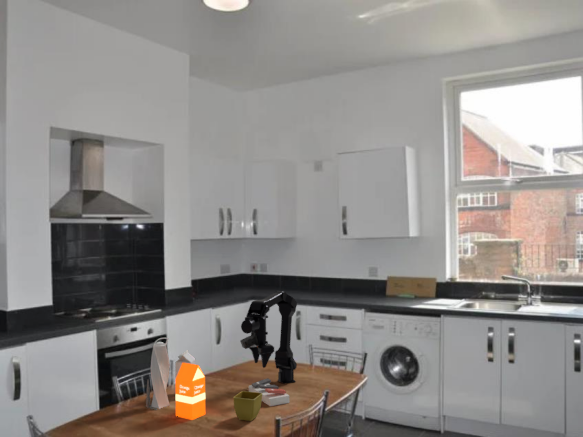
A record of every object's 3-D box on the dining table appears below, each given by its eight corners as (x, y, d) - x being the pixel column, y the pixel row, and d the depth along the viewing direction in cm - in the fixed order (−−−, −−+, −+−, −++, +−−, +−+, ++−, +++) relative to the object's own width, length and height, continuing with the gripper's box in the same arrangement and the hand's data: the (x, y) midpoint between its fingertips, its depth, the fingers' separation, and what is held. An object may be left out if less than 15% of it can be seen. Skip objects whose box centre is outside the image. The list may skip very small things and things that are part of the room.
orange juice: (192, 420, 202) (191, 367, 203) (175, 416, 207) (175, 364, 207) (205, 414, 209) (205, 362, 209) (189, 410, 213) (188, 360, 214)
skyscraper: (160, 402, 225) (160, 336, 226) (174, 405, 220) (173, 338, 221) (145, 408, 218) (144, 339, 219) (158, 411, 213) (157, 341, 214)
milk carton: (195, 392, 237) (195, 349, 238) (191, 397, 230) (191, 353, 231) (180, 392, 238) (180, 349, 239) (175, 397, 231) (175, 353, 232)
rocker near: (267, 380, 239) (267, 378, 238) (271, 382, 235) (270, 379, 235) (251, 385, 235) (251, 383, 235) (255, 388, 232) (254, 385, 232)
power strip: (261, 386, 246) (261, 379, 246) (289, 402, 221) (289, 395, 221) (243, 389, 241) (243, 382, 241) (270, 406, 217) (269, 398, 217)
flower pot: (263, 416, 205) (262, 392, 206) (254, 423, 197) (254, 399, 197) (242, 413, 208) (242, 390, 209) (232, 421, 200) (232, 397, 200)
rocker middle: (274, 387, 232) (275, 384, 232) (278, 389, 229) (278, 386, 229) (258, 386, 229) (258, 384, 229) (261, 388, 226) (262, 386, 226)
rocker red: (281, 391, 226) (282, 388, 226) (285, 393, 223) (286, 391, 223) (265, 390, 222) (265, 388, 223) (268, 393, 219) (269, 390, 219)
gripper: (235, 327, 239) (235, 362, 238) (250, 335, 222) (250, 372, 221) (258, 325, 243) (258, 359, 243) (274, 332, 227) (275, 369, 226)
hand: (260, 365), depth 233 cm, fingers open, 9 cm apart
